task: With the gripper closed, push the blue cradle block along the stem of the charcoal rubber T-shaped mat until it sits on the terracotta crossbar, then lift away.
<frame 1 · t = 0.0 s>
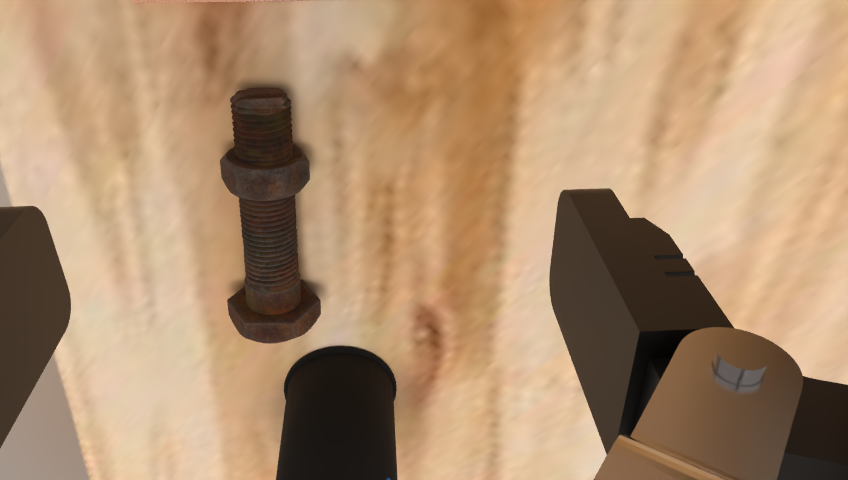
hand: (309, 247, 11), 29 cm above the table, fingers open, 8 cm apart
aerosol can: (340, 385, 53), on the table
bolt: (275, 196, 44), on the table
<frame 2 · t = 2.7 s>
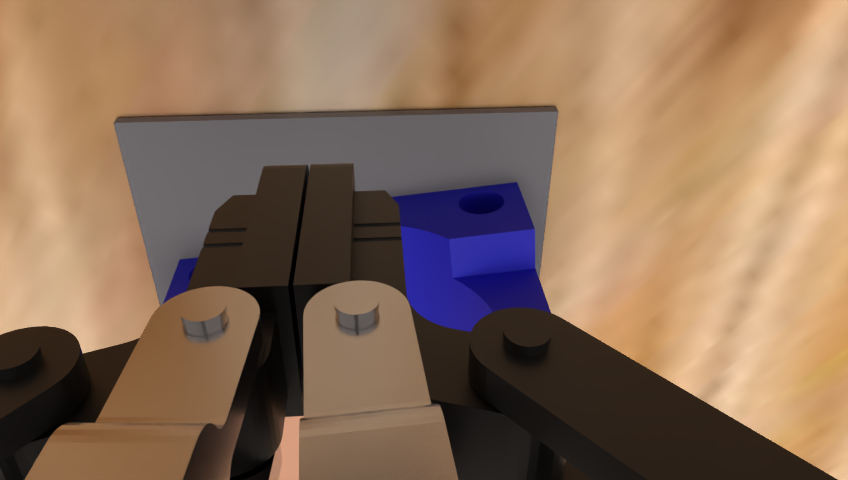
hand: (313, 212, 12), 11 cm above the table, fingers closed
blue cradle block: (352, 253, 26), resting on t mat
t mat: (355, 346, 28), on the table
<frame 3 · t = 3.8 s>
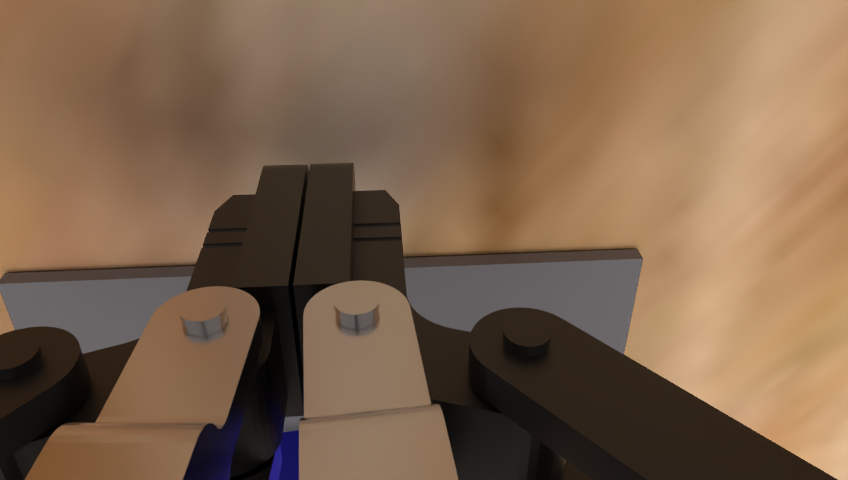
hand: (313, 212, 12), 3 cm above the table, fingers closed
blue cradle block: (349, 438, 19), resting on t mat
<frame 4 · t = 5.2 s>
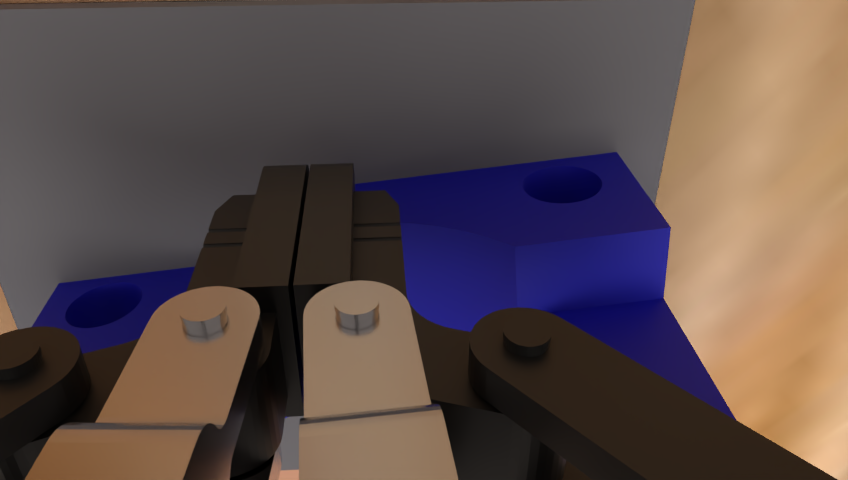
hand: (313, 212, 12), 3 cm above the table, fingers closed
blue cradle block: (342, 272, 16), resting on t mat
t mat: (343, 401, 18), on the table
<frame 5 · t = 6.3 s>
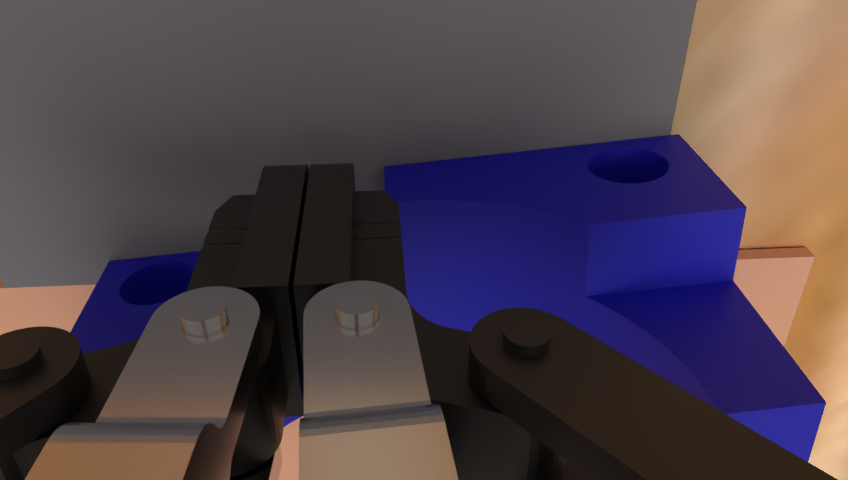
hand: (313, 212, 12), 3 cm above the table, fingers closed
blue cradle block: (395, 254, 16), resting on t mat, touching gripper
t mat: (327, 185, 15), on the table
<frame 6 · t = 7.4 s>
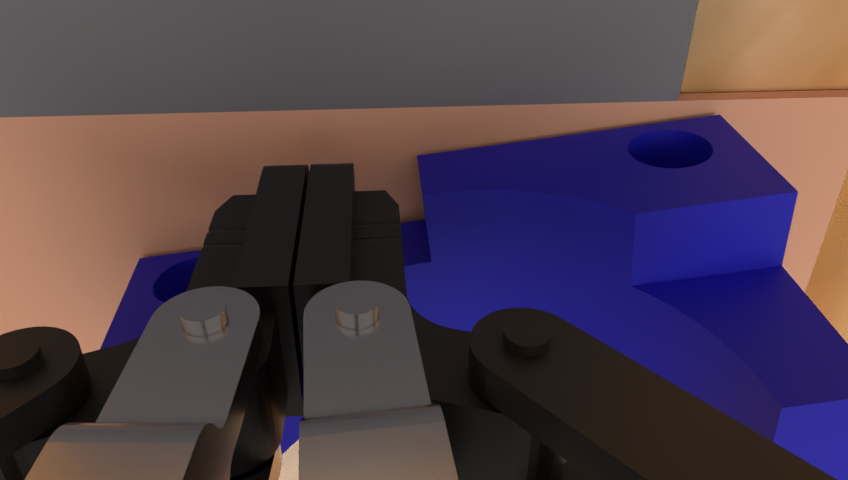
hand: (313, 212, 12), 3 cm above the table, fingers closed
blue cradle block: (428, 243, 15), resting on t mat, touching gripper
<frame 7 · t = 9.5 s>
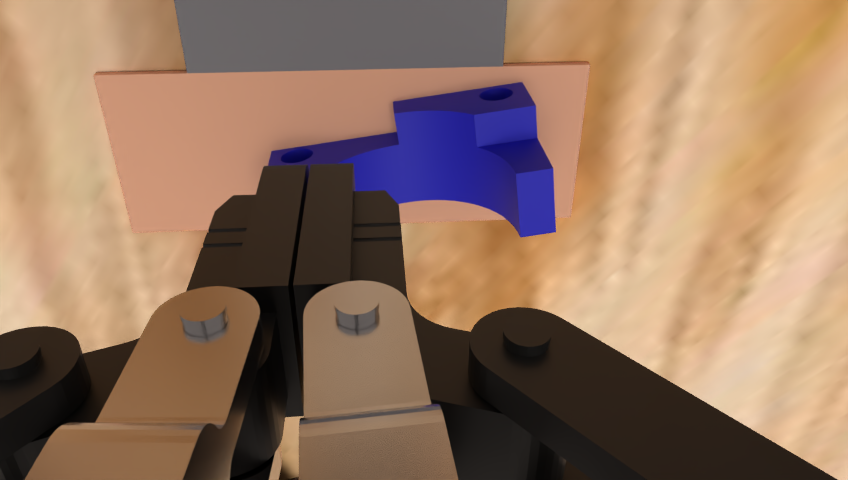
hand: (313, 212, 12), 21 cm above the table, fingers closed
blue cradle block: (399, 144, 34), resting on t mat
t mat: (344, 22, 31), on the table
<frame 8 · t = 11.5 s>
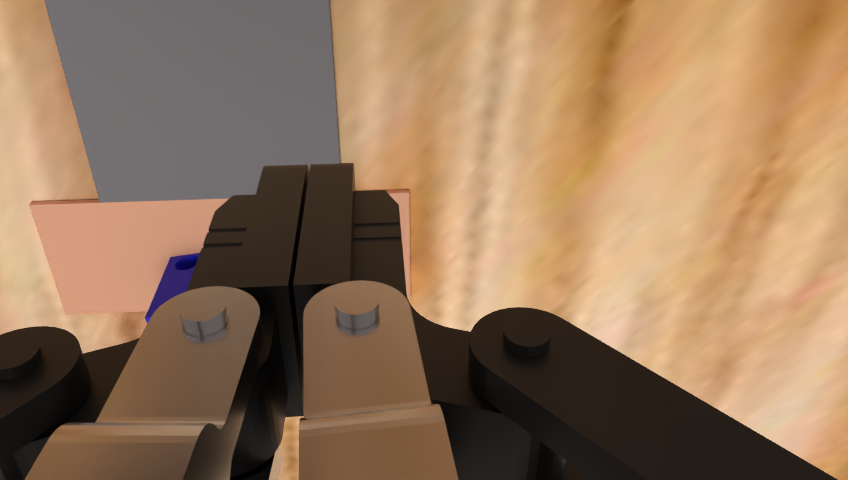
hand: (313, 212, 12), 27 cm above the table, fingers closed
blue cradle block: (270, 250, 44), resting on t mat
t mat: (218, 165, 41), on the table
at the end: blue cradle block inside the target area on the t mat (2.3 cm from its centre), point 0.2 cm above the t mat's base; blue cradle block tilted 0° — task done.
